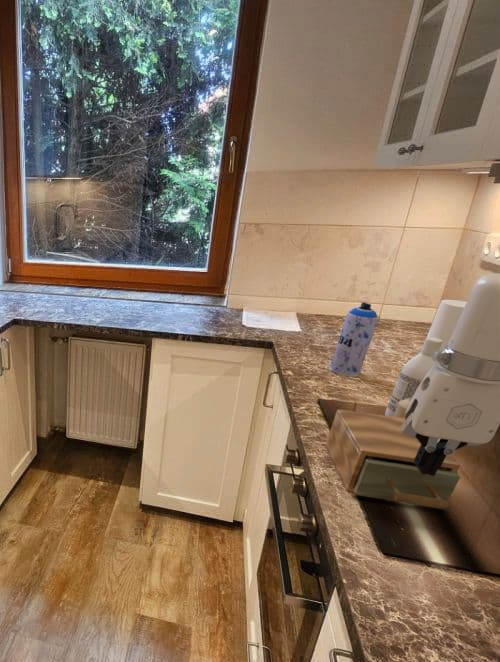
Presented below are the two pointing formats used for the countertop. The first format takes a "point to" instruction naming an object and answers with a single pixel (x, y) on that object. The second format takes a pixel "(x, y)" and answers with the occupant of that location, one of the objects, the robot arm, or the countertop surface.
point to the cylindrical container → (446, 321)
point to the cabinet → (370, 443)
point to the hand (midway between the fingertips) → (424, 469)
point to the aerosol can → (354, 341)
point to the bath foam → (413, 374)
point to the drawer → (404, 483)
